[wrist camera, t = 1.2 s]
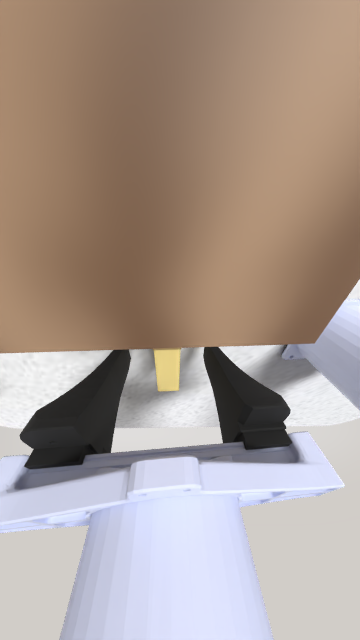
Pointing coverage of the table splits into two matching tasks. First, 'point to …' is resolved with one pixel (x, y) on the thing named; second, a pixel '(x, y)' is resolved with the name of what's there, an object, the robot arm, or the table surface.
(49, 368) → the table surface
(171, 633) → the robot arm
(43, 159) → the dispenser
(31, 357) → the table surface
